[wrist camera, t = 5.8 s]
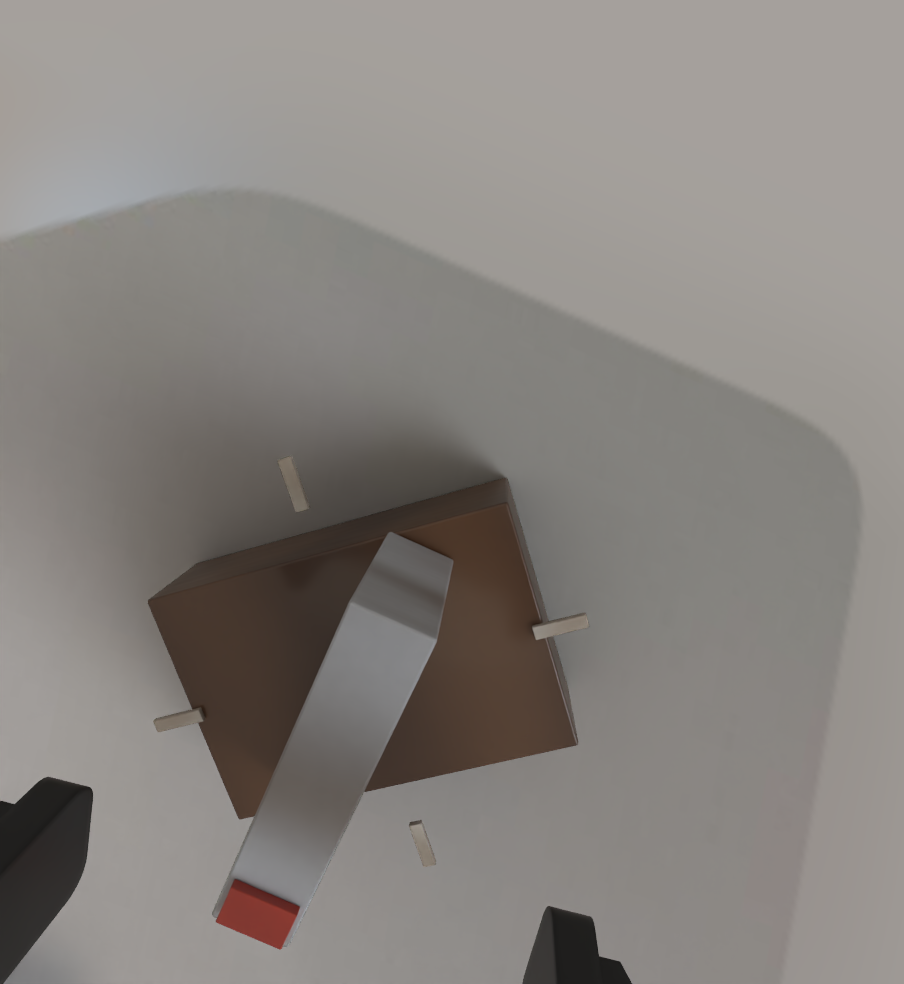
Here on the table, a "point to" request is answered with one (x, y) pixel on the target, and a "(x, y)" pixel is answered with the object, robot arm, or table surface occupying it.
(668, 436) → the table surface
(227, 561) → the tap base
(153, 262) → the table surface
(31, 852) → the robot arm
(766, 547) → the table surface
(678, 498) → the table surface
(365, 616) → the light grey narrow block
